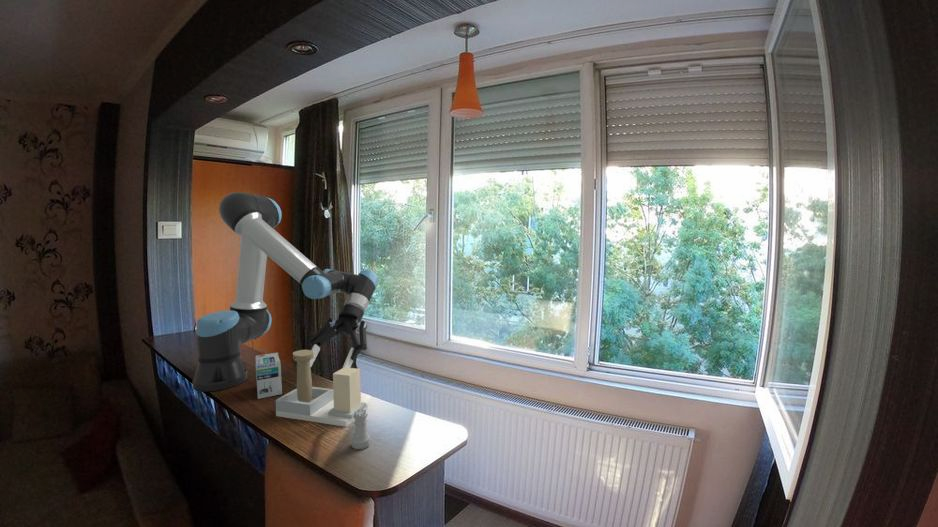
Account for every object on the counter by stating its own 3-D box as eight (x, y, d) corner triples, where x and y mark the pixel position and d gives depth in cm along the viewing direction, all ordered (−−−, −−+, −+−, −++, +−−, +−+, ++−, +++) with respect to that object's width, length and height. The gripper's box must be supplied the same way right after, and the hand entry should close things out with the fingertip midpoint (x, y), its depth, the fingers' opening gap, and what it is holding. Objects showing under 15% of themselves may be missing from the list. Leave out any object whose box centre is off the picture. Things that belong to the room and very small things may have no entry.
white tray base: (276, 416, 96) (274, 371, 95) (302, 400, 106) (300, 359, 105) (348, 427, 90) (347, 379, 90) (369, 409, 100) (368, 366, 99)
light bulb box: (282, 394, 110) (281, 360, 109) (257, 399, 106) (255, 364, 105) (279, 383, 119) (278, 351, 118) (256, 387, 115) (255, 355, 114)
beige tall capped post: (301, 411, 95) (299, 357, 94) (291, 404, 100) (289, 352, 99) (319, 405, 99) (317, 353, 98) (308, 398, 103) (306, 348, 102)
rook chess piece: (363, 452, 80) (362, 417, 79) (347, 448, 81) (346, 414, 81) (374, 441, 84) (374, 408, 83) (359, 437, 85) (358, 405, 85)
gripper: (390, 317, 120) (367, 376, 107) (328, 313, 127) (299, 368, 114) (382, 304, 115) (356, 365, 102) (317, 301, 122) (286, 357, 108)
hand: (326, 367), depth 108 cm, fingers open, 13 cm apart
